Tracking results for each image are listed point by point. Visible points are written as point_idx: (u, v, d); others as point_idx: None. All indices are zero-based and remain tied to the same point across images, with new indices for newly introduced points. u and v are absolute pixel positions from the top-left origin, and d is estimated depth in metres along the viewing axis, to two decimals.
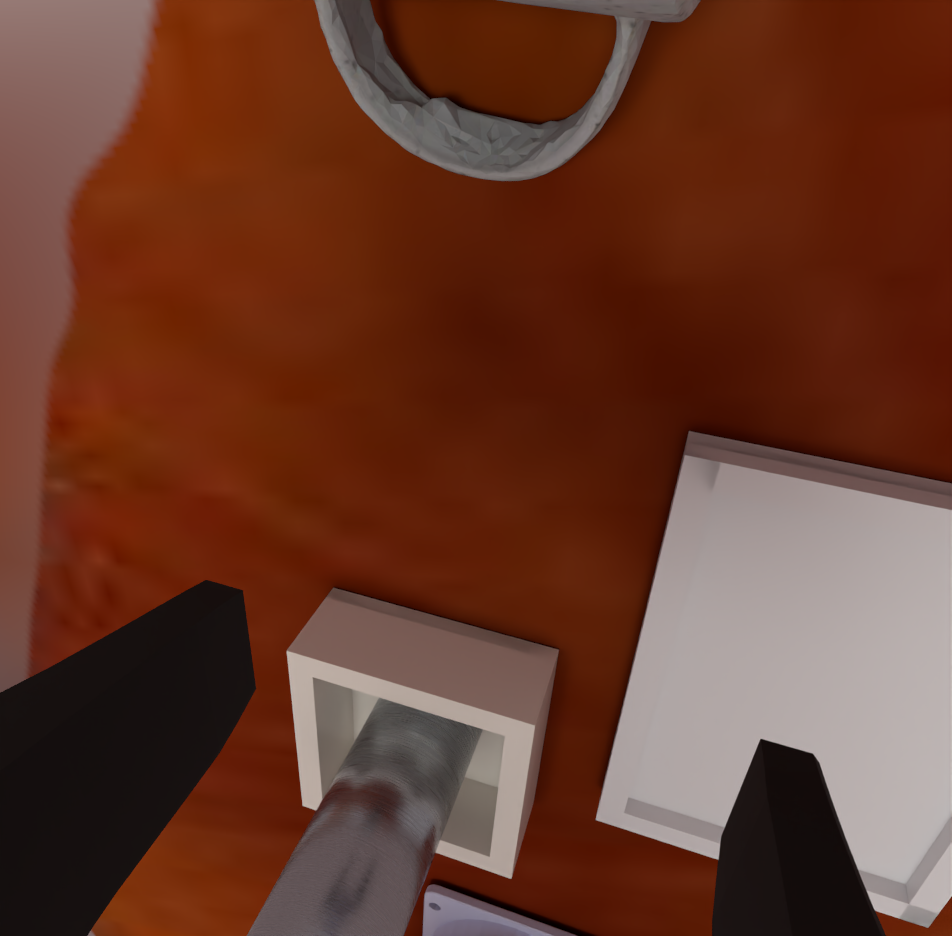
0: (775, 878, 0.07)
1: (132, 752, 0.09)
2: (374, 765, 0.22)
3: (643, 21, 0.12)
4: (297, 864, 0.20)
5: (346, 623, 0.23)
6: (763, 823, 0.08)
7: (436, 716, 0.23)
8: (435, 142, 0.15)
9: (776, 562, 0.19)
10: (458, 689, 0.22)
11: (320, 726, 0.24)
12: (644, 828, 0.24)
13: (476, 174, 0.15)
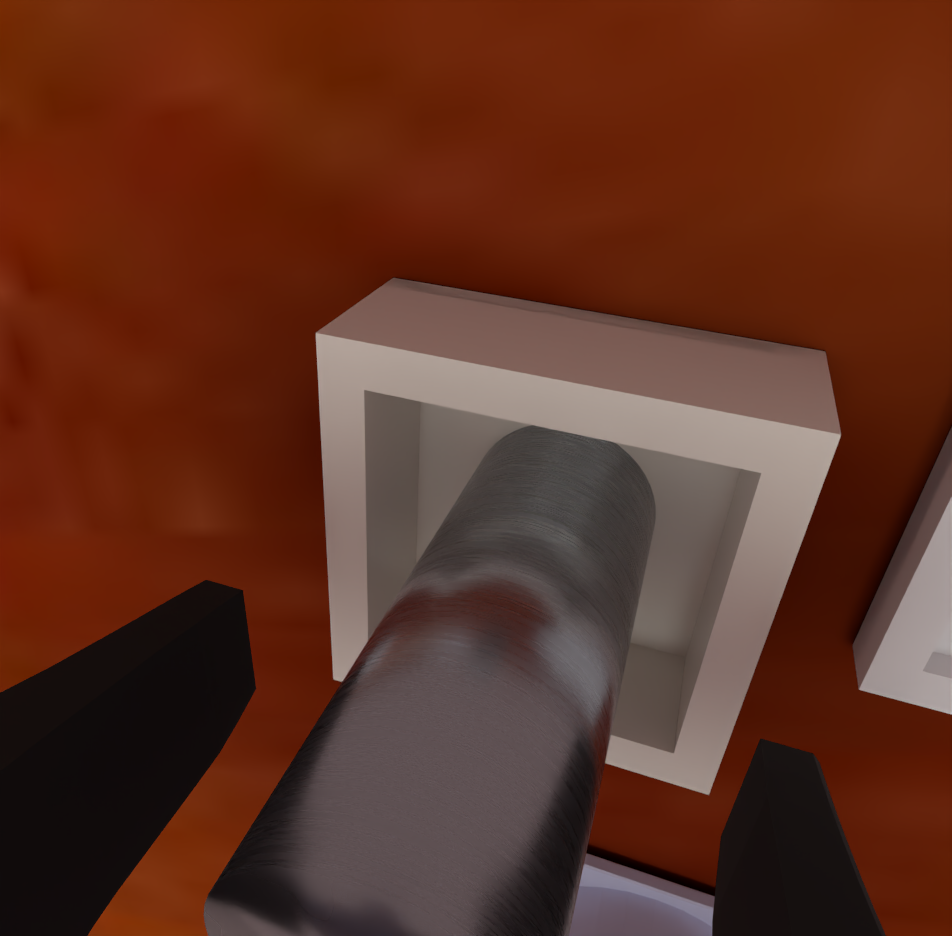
0: (775, 878, 0.07)
1: (132, 752, 0.09)
2: (492, 540, 0.11)
3: None
4: (347, 705, 0.09)
5: (424, 310, 0.13)
6: (763, 823, 0.08)
7: (592, 479, 0.12)
8: None
9: None
10: (661, 387, 0.11)
11: (371, 512, 0.13)
12: None
13: None
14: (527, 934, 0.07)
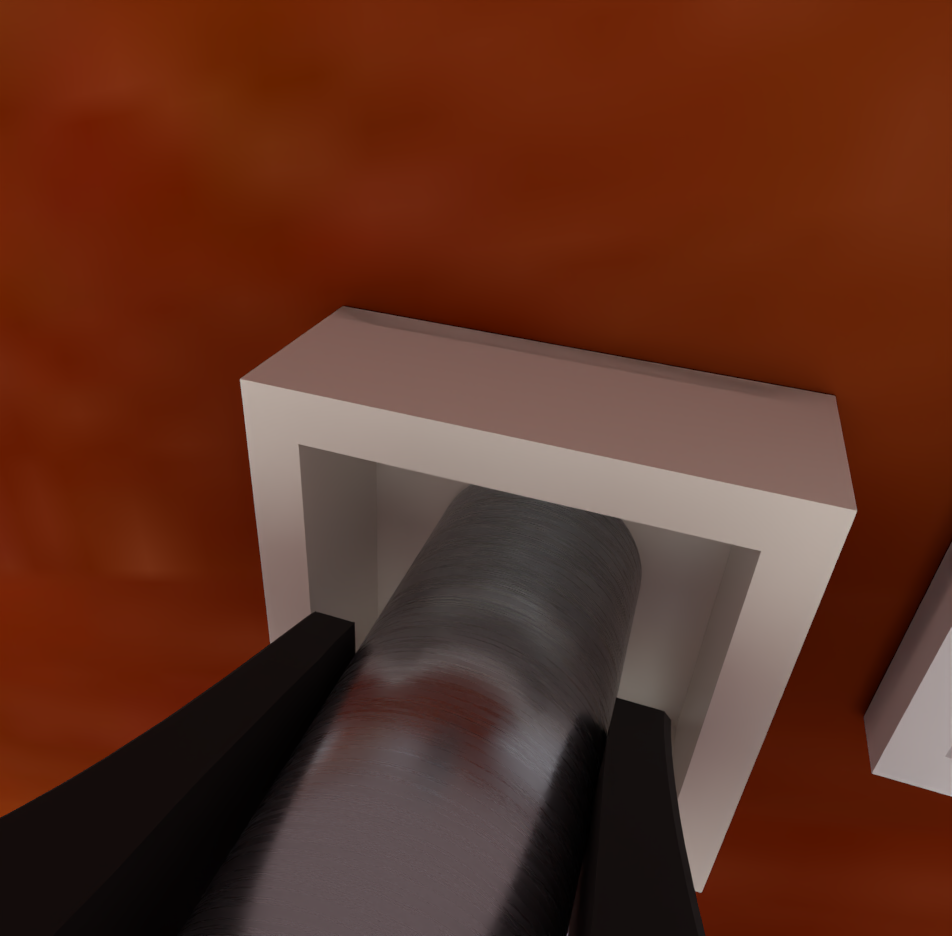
0: (599, 820, 0.08)
1: (259, 797, 0.09)
2: (442, 628, 0.09)
3: None
4: (250, 860, 0.07)
5: (372, 348, 0.11)
6: (602, 773, 0.08)
7: (566, 543, 0.11)
8: None
9: None
10: (642, 446, 0.09)
11: (315, 576, 0.12)
12: None
13: None
14: None
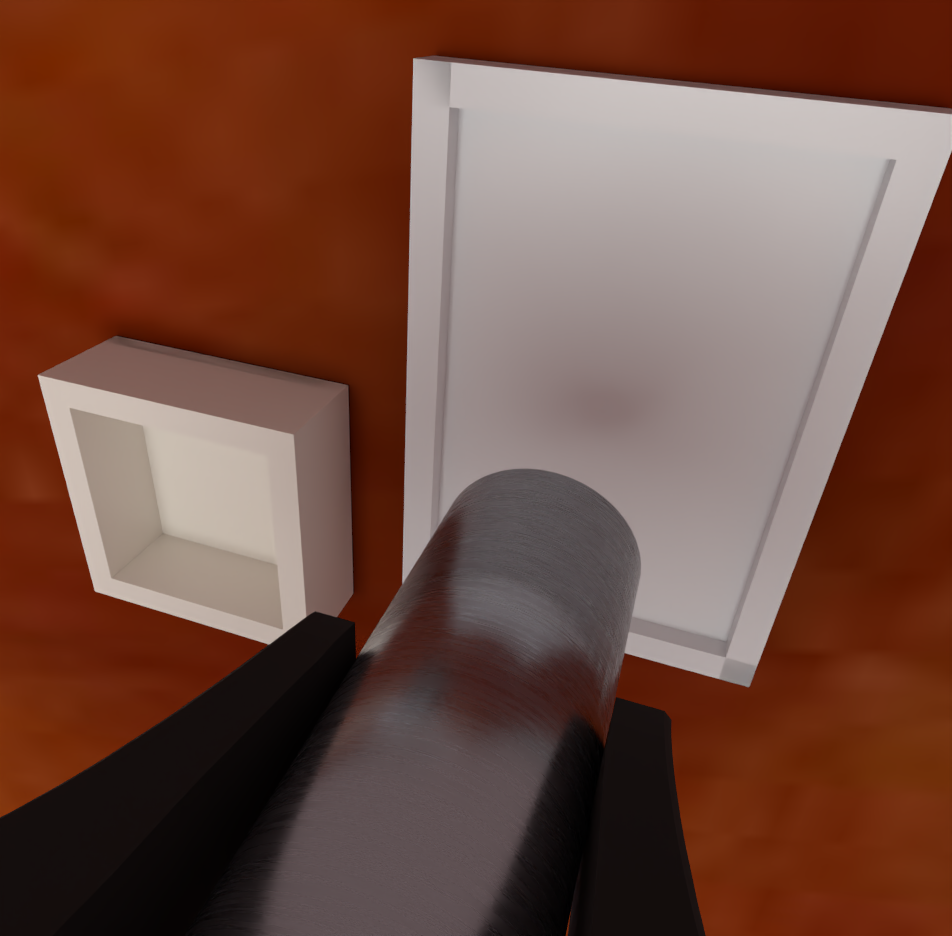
0: (598, 820, 0.08)
1: (259, 797, 0.09)
2: (474, 622, 0.09)
3: None
4: (292, 834, 0.07)
5: (116, 359, 0.21)
6: (602, 773, 0.08)
7: (585, 550, 0.11)
8: None
9: (538, 213, 0.16)
10: (218, 407, 0.19)
11: (93, 481, 0.22)
12: None
13: None
14: None
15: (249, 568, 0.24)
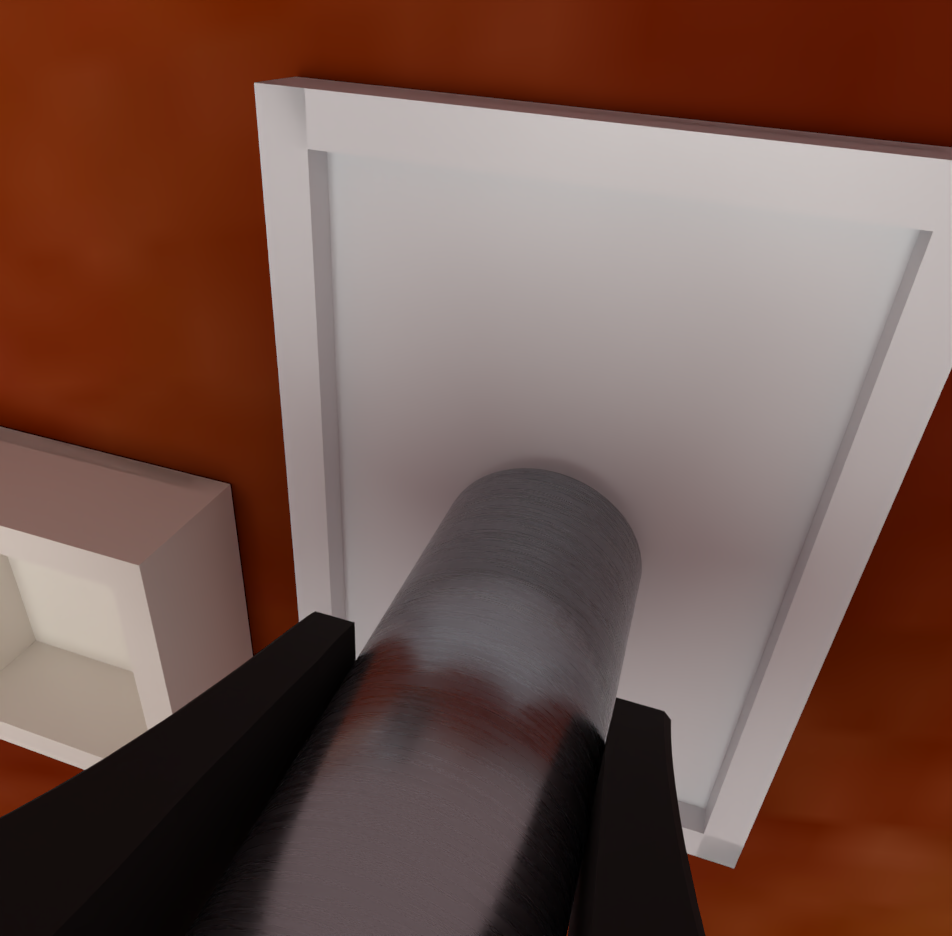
0: (598, 820, 0.08)
1: (259, 797, 0.09)
2: (475, 623, 0.09)
3: None
4: (292, 834, 0.07)
5: None
6: (601, 773, 0.08)
7: (586, 549, 0.11)
8: None
9: (441, 288, 0.12)
10: (52, 523, 0.15)
11: None
12: None
13: None
14: None
15: (132, 689, 0.20)
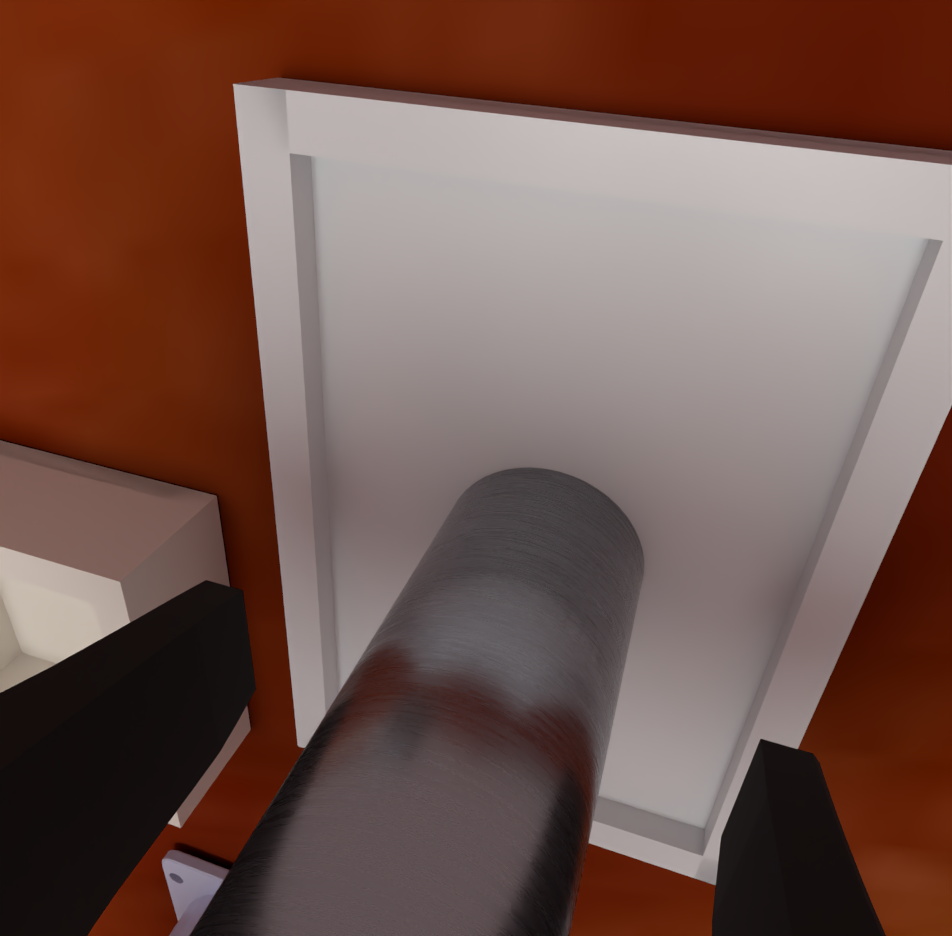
0: (775, 878, 0.07)
1: (133, 752, 0.09)
2: (479, 620, 0.09)
3: None
4: (298, 830, 0.07)
5: None
6: (763, 823, 0.08)
7: (589, 548, 0.11)
8: None
9: (429, 297, 0.12)
10: (32, 537, 0.15)
11: None
12: None
13: None
14: None
15: None
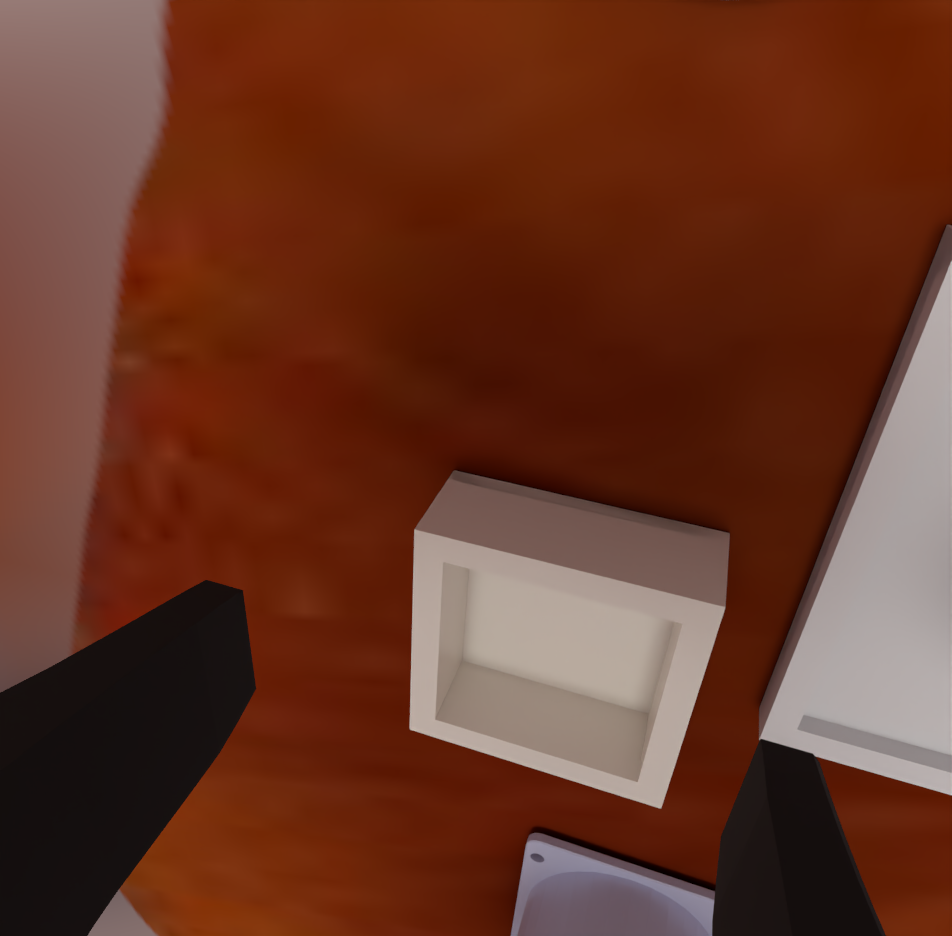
0: (775, 878, 0.07)
1: (133, 752, 0.09)
2: None
3: None
4: None
5: (477, 504, 0.20)
6: (763, 823, 0.08)
7: None
8: None
9: None
10: (624, 570, 0.18)
11: (442, 628, 0.21)
12: (820, 748, 0.21)
13: None
14: None
15: (569, 703, 0.23)
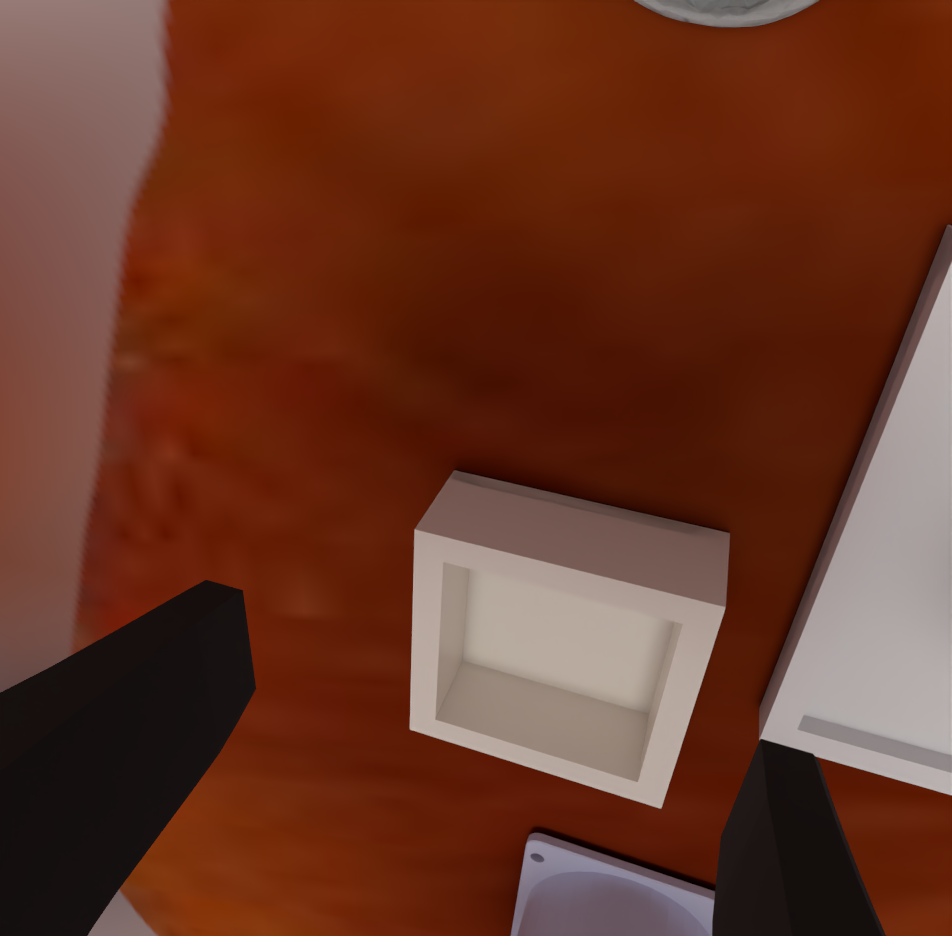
0: (775, 878, 0.07)
1: (133, 752, 0.09)
2: None
3: None
4: None
5: (477, 504, 0.20)
6: (763, 823, 0.08)
7: None
8: None
9: None
10: (624, 570, 0.18)
11: (442, 628, 0.21)
12: (820, 748, 0.21)
13: (704, 19, 0.13)
14: None
15: (569, 703, 0.23)
